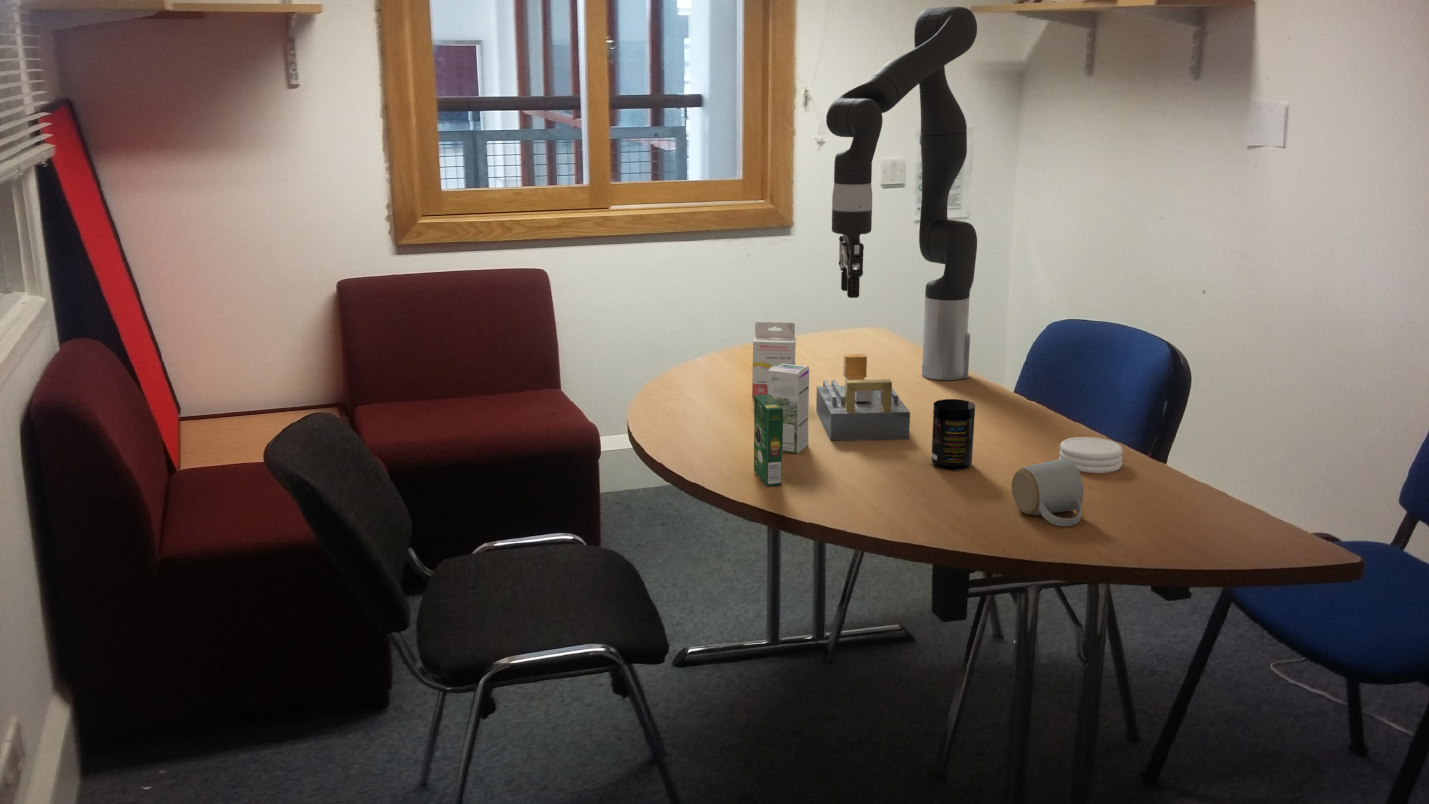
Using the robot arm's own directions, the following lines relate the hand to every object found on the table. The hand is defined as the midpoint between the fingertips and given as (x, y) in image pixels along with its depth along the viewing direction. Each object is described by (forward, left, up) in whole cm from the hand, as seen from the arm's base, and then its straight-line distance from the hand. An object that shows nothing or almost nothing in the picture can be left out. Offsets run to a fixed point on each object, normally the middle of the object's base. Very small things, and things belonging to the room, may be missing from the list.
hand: (849, 293), depth 224 cm
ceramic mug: (-20, +62, -22) cm, 69 cm away
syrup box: (+15, +28, -22) cm, 39 cm away
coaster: (-34, +40, -22) cm, 57 cm away
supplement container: (-11, +39, -22) cm, 46 cm away
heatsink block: (0, +15, -22) cm, 27 cm away
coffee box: (+20, +44, -22) cm, 53 cm away
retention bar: (0, +12, -17) cm, 20 cm away
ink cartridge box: (+14, -7, -22) cm, 27 cm away
